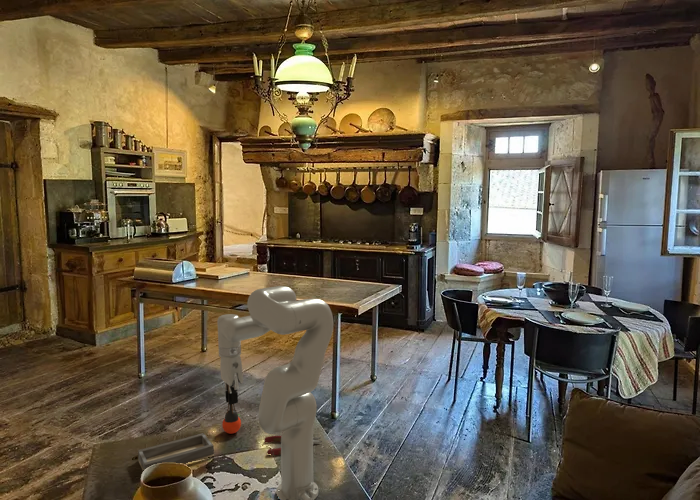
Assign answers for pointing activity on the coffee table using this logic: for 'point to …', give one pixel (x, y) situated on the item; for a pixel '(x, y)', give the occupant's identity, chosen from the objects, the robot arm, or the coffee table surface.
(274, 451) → the pliers
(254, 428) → the coffee table surface
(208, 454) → the rectangular tray
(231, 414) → the wooden tabletop sculpture
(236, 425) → the clementine
